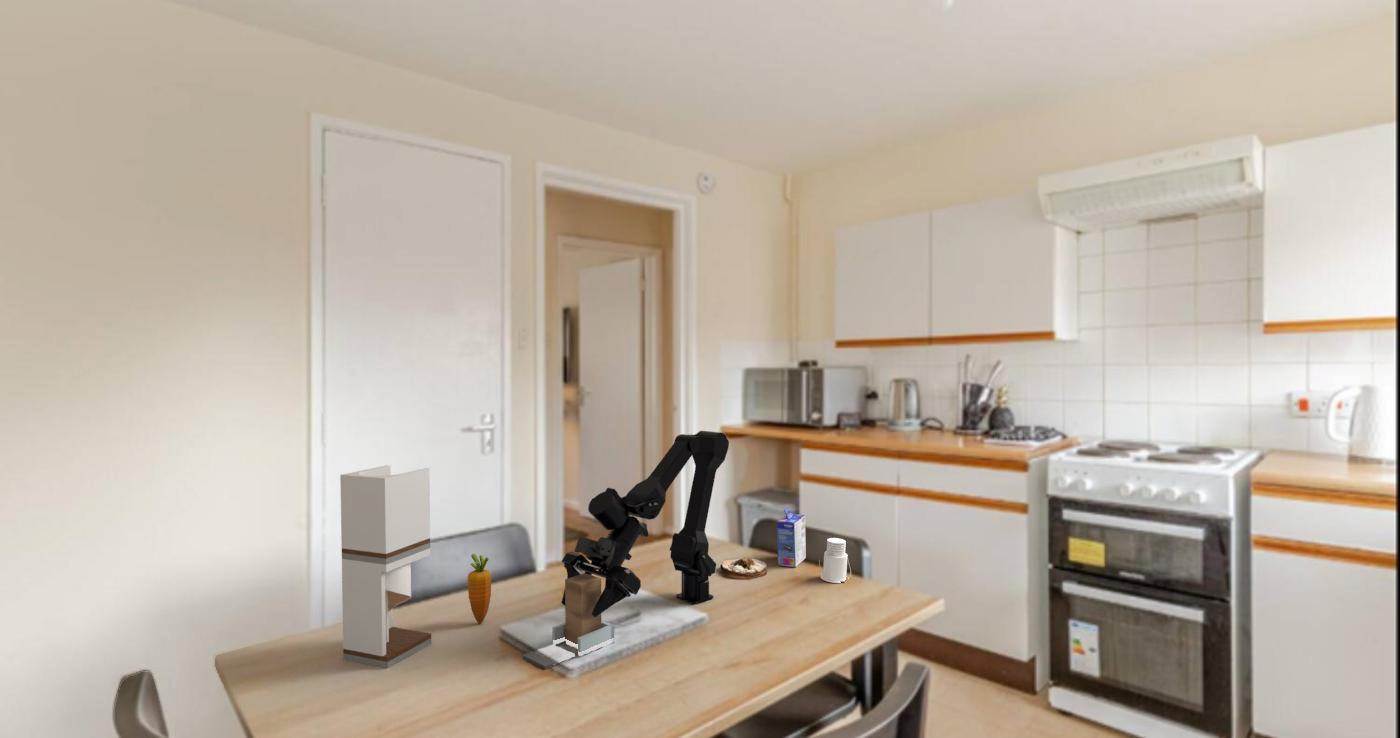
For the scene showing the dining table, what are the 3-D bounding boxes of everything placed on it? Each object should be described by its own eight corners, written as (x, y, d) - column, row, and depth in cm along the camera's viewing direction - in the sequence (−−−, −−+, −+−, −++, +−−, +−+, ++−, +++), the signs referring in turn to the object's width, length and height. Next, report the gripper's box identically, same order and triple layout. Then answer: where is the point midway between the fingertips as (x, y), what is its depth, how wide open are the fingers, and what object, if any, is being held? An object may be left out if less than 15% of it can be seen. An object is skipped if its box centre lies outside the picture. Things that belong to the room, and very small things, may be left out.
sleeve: (586, 631, 146) (586, 614, 145) (614, 642, 140) (614, 625, 140) (520, 657, 133) (520, 638, 133) (548, 670, 128) (548, 651, 128)
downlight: (818, 582, 176) (820, 542, 175) (818, 573, 182) (820, 535, 182) (851, 585, 174) (853, 545, 174) (849, 576, 181) (851, 538, 181)
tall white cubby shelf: (387, 668, 129) (384, 478, 128) (343, 659, 133) (340, 474, 131) (431, 643, 140) (429, 468, 138) (389, 636, 143) (386, 465, 142)
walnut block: (585, 636, 143) (584, 573, 143) (601, 643, 140) (601, 578, 139) (565, 644, 139) (565, 579, 139) (581, 651, 136) (581, 584, 136)
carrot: (496, 623, 150) (496, 553, 149) (475, 630, 146) (474, 558, 146) (484, 617, 153) (483, 549, 153) (463, 623, 149) (462, 554, 149)
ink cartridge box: (787, 555, 198) (787, 504, 198) (806, 558, 196) (806, 506, 196) (776, 565, 189) (776, 512, 189) (795, 568, 187) (796, 514, 187)
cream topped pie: (714, 564, 192) (714, 549, 192) (769, 564, 192) (769, 549, 191) (715, 582, 177) (715, 566, 177) (774, 582, 177) (774, 566, 177)
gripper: (568, 513, 148) (525, 578, 140) (630, 528, 136) (586, 600, 128) (597, 542, 154) (557, 606, 146) (658, 559, 142) (618, 630, 134)
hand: (577, 610), depth 138 cm, fingers open, 9 cm apart
